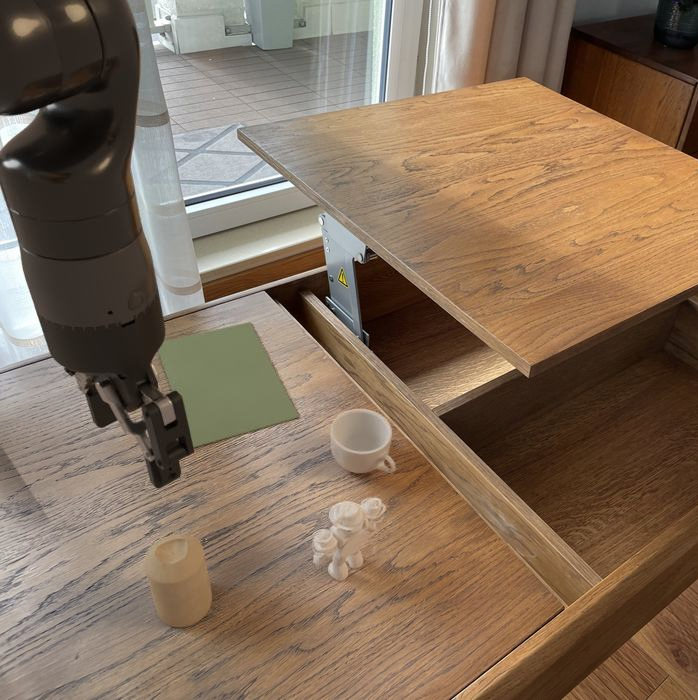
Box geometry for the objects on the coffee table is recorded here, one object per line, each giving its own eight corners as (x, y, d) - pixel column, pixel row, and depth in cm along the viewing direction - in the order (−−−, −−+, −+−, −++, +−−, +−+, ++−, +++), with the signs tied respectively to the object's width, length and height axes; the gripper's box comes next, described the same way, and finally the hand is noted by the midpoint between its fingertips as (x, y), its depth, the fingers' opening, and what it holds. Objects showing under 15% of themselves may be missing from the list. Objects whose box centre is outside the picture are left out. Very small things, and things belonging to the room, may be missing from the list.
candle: (199, 571, 78) (187, 516, 72) (221, 609, 75) (212, 555, 69) (148, 597, 75) (132, 542, 69) (169, 638, 72) (154, 584, 66)
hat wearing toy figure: (324, 602, 77) (324, 537, 70) (303, 577, 79) (301, 511, 72) (388, 555, 83) (395, 490, 75) (367, 533, 85) (371, 467, 77)
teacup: (317, 457, 92) (317, 428, 89) (361, 427, 97) (362, 399, 94) (370, 502, 88) (372, 474, 85) (413, 469, 93) (417, 441, 89)
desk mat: (193, 448, 91) (193, 447, 91) (155, 344, 105) (155, 343, 105) (299, 417, 97) (299, 416, 97) (250, 323, 111) (250, 322, 111)
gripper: (-13, 260, 48) (47, 425, 59) (96, 367, 42) (142, 530, 52) (95, 225, 53) (133, 383, 63) (208, 317, 47) (230, 475, 57)
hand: (137, 450), depth 58 cm, fingers open, 8 cm apart
